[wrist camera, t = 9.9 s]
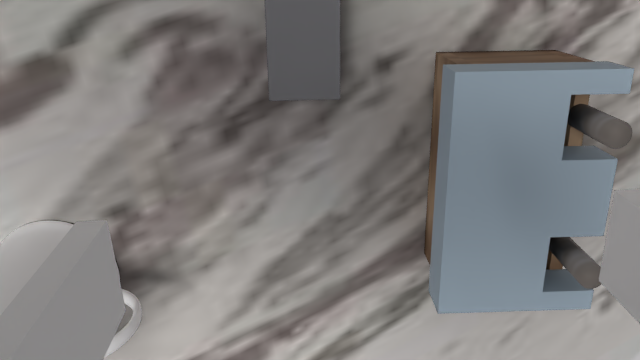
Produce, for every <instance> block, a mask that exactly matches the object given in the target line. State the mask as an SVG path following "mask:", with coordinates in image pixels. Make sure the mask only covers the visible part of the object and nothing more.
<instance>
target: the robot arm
mask: <svg viewBox="0 0 640 360" xmlns="http://www.w3.org/2000/svg"><path fill="white" fill-rule="evenodd" d="M599 282H600V283H601V284H602V285H603V286H604V287H605V288H606V289H607V290H608V291H609V292H610V293H611V294H612V295H613V296H614V297H615V298H616V299H617V301H618V302H619V303H620V304H621V305H622V306H623V307H624V308H625V309H626V310H627V311H628V312H629V313H630V314H631V315H632V316H633V317H634V318H635V319H636V320H637V322H638V323H639V324H640V189H627V190H614V195H613V201H612V206H611V212H610V218H609V224H608V229H607V235H606V241H605V246H604V252H603V258H602V263H601V269H600V275H599ZM125 312H126V308H125V303H124V299H123V294H122V289H121V284H120V279H119V275H118V270H117V265H116V260H115V255H114V251H113V246H112V241H111V236H110V231H109V227H108V222H107V220H95V221H78V222H76V223H75V224H74V225H73V227H72V228H71V229H70V230H69V232H68V233H67V234H66V235H65V236H64V238H63V239H62V240H61V241H60V243H59V244H58V245H57V246H56V248H55V249H54V250H53V251H52V252H51V254H50V255H49V256H48V257H47V259H46V260H45V261H44V262H43V264H42V265H41V266H40V267H39V268H38V270H37V271H36V272H35V273H34V275H33V276H32V277H31V278H30V280H29V281H28V282H27V283H26V284H25V286H24V287H23V288H22V289H21V291H20V292H19V293H18V294H17V296H16V297H15V298H14V299H13V300H12V302H11V303H10V304H9V305H8V307H7V308H6V309H5V310H4V312H3V313H2V314H1V315H0V360H103V359H104V357H105V354H106V352H107V350H108V348H109V346H110V344H111V342H112V339H113V337H114V335H115V333H116V331H117V329H118V327H119V324H120V322H121V320H122V318H123V316H124V314H125Z"/></svg>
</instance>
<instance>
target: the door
mask: <svg viewBox="0 0 640 360" xmlns="http://www.w3.org/2000/svg"><path fill="white" fill-rule="evenodd" d="M633 73H634V68H630V67H626V66H623V65H619V64H615V63H612V62H554V63H501V64H447V65H443V73H442V88H441V104H440V120H439V136H438V152H437V167H436V183H435V199H434V215H433V230H432V246H431V262H430V278H429V293H430V295H431V297H432V300H433V302H434V305H435V307H436V310H437V312H438V313H471V312H504V311H537V310H571V309H590V308H591V302H592V297H593V291H594V290H593V289H587V288H584V287H583V286H582V285H581V284H580V283H579V282H578V281H577V280H576V279H575V278H574V277H573V276H572V275H571V273H570V272H569V271H568V270H567V269H555V270H546V264H547V257H548V251H549V244H550V237H583V236H604V231H605V226H606V220H607V215H608V209H609V204H610V198H611V193H612V188H613V182H614V177H615V171H616V166H617V160H618V159H617V158H615V157H613V156H611V155H610V154H608V153H606V152H604V151H603V150H601V149H599V148H597V147H596V146H564V141H565V134H566V128H567V121H568V114H569V107H570V100H571V95H582V94H630V89H631V84H632V78H633Z"/></svg>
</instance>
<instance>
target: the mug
mask: <svg viewBox="0 0 640 360" xmlns="http://www.w3.org/2000/svg"><path fill="white" fill-rule="evenodd" d="M73 225H74V224H70V223H67V222H62V221H54V220H44V221H36V222H32V223H29V224H26V225H23V226H21V227H19V228H17V229H16V230H14V231H13V232H12V233H10V234H9V235H8V236H7V237H6V238H5V239H4V240H3V242H2V243H1V245H0V315H1V314H2V313H3V312H4V310H5V309H6V308H7V307H8V305H9V304H10V303H11V302H12V300H13V299H14V298H15V297H16V296H17V294H18V293H19V292H20V291H21V289H22V288H23V287H24V286H25V284H26V283H27V282H28V281H29V280H30V278H31V277H32V276H33V275H34V273H35V272H36V271H37V270H38V268H39V267H40V266H41V265H42V264H43V262H44V261H45V260H46V259H47V257H48V256H49V255H50V254H51V252H52V251H53V250H54V249H55V248H56V246H57V245H58V244H59V243H60V241H61V240H62V239H63V238H64V236H65V235H66V234H67V233H68V232H69V230H70V229H71V228H72V227H73ZM116 265H117V263H116ZM117 270H118V266H117ZM118 275H119V270H118ZM119 279H120V275H119ZM122 294H123V299H124V303H125V304H126V305H128V306H129V307H131V308H132V310H133V315H132V317H131V319H130V321H129V322H128V323H127V325H126V326H125V327H124V328H123V329H122V330H120V331H119V332H118V333H117V334H115V335H114V337H113V339H112V342H111V344H110V346H109V348H108V350H107V352H106V354H105V357H107V356H108V355H110V354H112V353H113V352H115V351H116V350H117V349H119V348H120V347H121V346H123V345H124V344H125V343H126V342H127V341H128V340H129V339H130V338H131V337H132V336H133V334H134V333H135V332H136V330H137V329H138V327H139V325H140V322H141V318H142V308H141V304H140V302H139V300H138V298H137V297H136V296H135V295H134V294H132V293H131V292H129V291H127V290H125V289H122ZM105 357H104V358H105Z"/></svg>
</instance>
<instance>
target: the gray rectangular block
mask: <svg viewBox="0 0 640 360" xmlns="http://www.w3.org/2000/svg"><path fill="white" fill-rule="evenodd" d="M265 19H266V40H267V62H268V84H269V101H285V100H334V99H340V0H265Z"/></svg>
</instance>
